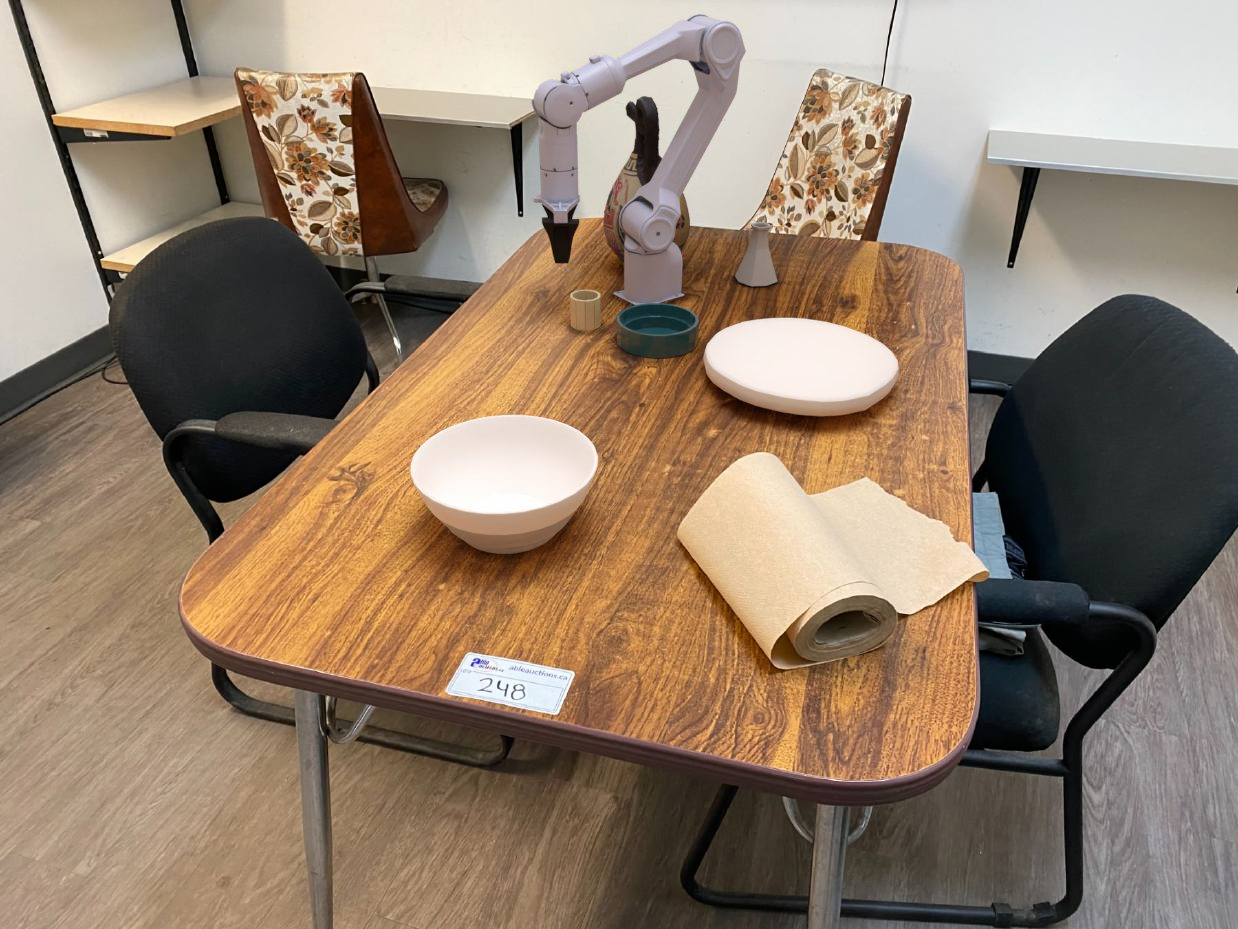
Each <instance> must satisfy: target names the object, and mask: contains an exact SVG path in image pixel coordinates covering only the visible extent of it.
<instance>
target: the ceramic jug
mask: <svg viewBox="0 0 1238 929" xmlns="http://www.w3.org/2000/svg"><path fill="white" fill-rule="evenodd" d="M625 112H626V116H627V117H628V118H629V119H630V120H631V121H633V122H634V127H635V138H634V145H633V150H632V152H630V155H629V157H628V159H627V160H626V161H625V164H624V165H623V166H622V168H621V170H620V172H619V173H618V176H617V178H616V179H615V181H614V182H613V184H612V187H611V189H610V191H609V193H608V196H607V199H606V203H605V207H604V211H603V222H602V223H603V224H602V225H603V226H602V227H603V232H604V235H605V239H606V244H607V246H608V247H609V248H610V250H611V251H612V252H613V253H614V254H615V255H616V257H617V258H618V259H619V261H620V262H621V264H622V265H623V266H624V243H625V240H626V233H624V232H623V230H622V229H621V227H620V224H619V216H620V212H621V210H622V208H623V207H624V205H625V204H626V203H628V202H629V201H630V200H631V199H633V197H634V196H635V195H636V193H637V191H638V189H639V188H641V187H642V186H644V185H646V184H647V183H649V182H650V181H651V179H652V177H653V175H654V173H655V171H656V170H657V168H658V166H659V164H660V162H661V160H662V158H663V157H662V156H661V155H660V148H659V147H660V146H659V143H660V118H659V110H658V107H657V104H656V102H655V101H654V98H653V97H651V96H646V95H642V96H640V97H638V98H637V99H636V103H635V102H634V101H630V100H629V101H628V102H627V104H626V106H625ZM680 210H681V216H680V218H679V219H678V221H677V224H676V230H675V237H674V239H673V241H672V242H674V243H675V244H676V245H677V246H678V247H679V249H680V251H681V252H682V251H683V250H684V247H685V246H686V243H687V242H688V238H689V235H690V230H691V218H690V212H689V208H688V203H687V200H686V197H685V193H684V192H683V193H682V195H681V197H680Z"/></svg>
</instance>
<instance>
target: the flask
mask: <svg viewBox="0 0 1238 929" xmlns="http://www.w3.org/2000/svg"><path fill="white" fill-rule="evenodd" d="M750 226H751V229H752V231H751V237H750V240H749V244H748V247H747V249H746V251H745V253H744V256H743V258H742V260H741V262H740V264H739V266H738V268H737V270H736V273H735V275H734V277H735V279H736V280H737V282H738V283H741V284H744V285H746V286H750V287H767V286H771V285H772V284H776V283H777V282H778V278H777V274H776V270H775V268H774V264H773V258H772V256H771V250H770V247H769V246H770V244H769V230H771V228H772V225H771V224H770V223H769V222H765V221H755V222H751V223H750Z"/></svg>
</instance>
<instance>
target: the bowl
mask: <svg viewBox="0 0 1238 929" xmlns="http://www.w3.org/2000/svg"><path fill="white" fill-rule="evenodd" d="M598 467H599V455H598V452H597V450H596V447H595V445H594V444H593V442H592V441H591V440H590V439H589V437H588V436H586V435H585V434H584V433H583V432H581V431H580V430H579V429H577V428H575V427H573V426H571V425H570V424H568V423H564V422H561V421H558V420H555V419H551V418H547V417H543V416H536V415H527V414H500V415H490V416H483V417H479V418H473V419H469V420H466V421H462V422H458V423H456V424H453V425H452V426H449V427H447V428H444V429H442V430H440V431H439V432H436V434H434V435H432V436H431V437H429V438H428V439H426V441H424V442H423V443H422V444H421V445H420V446H419V448H418V449H417V450H416V452H415V453H414V455H413V457H412V459H411V462H410V465H409V476H410V479H411V482H412V484H413V486H414V487H415V489H416V491H417V492H418V494H419V496H420V497H421V499H422V500H423V503H424V504H425V505H426V507H427V509H428V510H429V511H430V513H432V514H433V515H434V517H436V518H437V519H438V520H439V521H440V523H441V524H442V525H443V526H445V527H446V528H448V529H449V531H450V533H452V534H453V535H454V536H456V537H457V538H459V539H460V540H462V541H464V542H465V543H466V544H468V545H469V546H470V547H472V548H475V549H476V550H479V551H481V552H485V553H490V554H497V555H513V554H520V553H525V552H529V551H531V550H534V549H537V548H539V547H541V546H543V545H545V544H547V543H548V542H549V541H550V540H551V539H553V538H554V536H555V535H556V534H557V533H559V532H560V531H561V530H562V529H563V528H565V526H566V525H567V524H568V522H569V521H570V519H571V518H572V517H573V516H574V514H575V513H577V511H578V510H579V508H580V506H582V504H583V502H584V501H585V499H586V497H587V495H588V492H589V490H590V487H591V485H592V484H593V483H592V482H593V481H594V478H595V476H596V473H597V470H598Z"/></svg>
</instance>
